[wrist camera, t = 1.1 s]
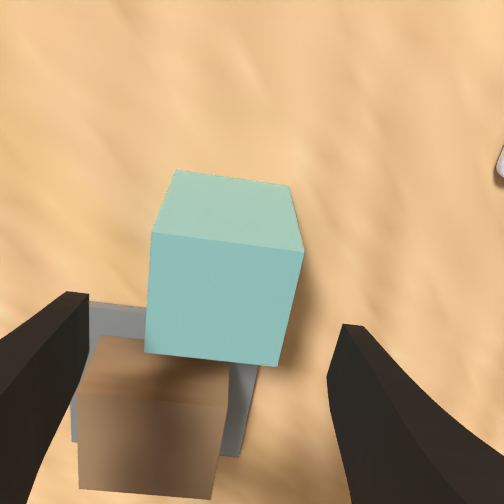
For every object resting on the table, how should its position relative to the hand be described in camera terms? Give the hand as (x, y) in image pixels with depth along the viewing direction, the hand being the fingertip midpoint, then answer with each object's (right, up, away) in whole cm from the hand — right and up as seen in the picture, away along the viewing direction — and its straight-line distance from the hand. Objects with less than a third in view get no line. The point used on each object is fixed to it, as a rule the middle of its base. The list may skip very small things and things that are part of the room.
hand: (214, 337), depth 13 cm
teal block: (0, +3, +6) cm, 7 cm away
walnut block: (-3, -4, +10) cm, 11 cm away
